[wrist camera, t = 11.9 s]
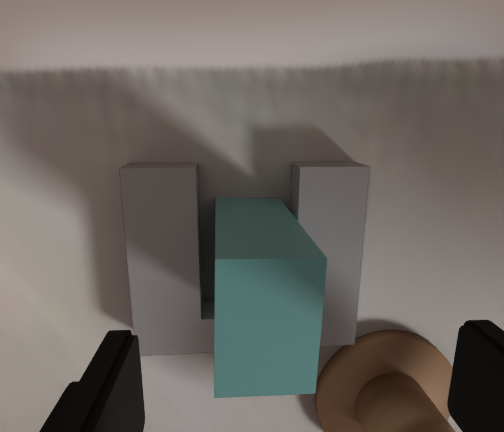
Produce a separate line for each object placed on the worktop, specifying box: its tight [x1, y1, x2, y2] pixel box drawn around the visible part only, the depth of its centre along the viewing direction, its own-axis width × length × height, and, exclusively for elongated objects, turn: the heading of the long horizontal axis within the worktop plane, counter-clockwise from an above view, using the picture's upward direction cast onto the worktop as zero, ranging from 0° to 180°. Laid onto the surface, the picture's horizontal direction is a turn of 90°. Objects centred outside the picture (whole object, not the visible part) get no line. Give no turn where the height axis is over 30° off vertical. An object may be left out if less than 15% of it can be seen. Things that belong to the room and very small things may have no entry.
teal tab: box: [214, 198, 327, 398], centre depth 16 cm, size 4×5×9 cm
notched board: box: [119, 162, 370, 356], centre depth 20 cm, size 12×10×2 cm
